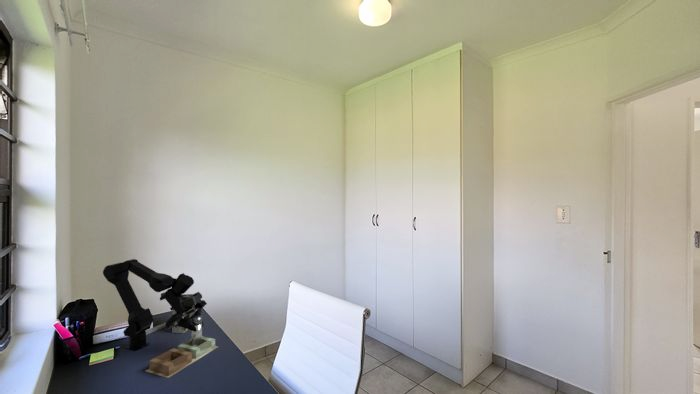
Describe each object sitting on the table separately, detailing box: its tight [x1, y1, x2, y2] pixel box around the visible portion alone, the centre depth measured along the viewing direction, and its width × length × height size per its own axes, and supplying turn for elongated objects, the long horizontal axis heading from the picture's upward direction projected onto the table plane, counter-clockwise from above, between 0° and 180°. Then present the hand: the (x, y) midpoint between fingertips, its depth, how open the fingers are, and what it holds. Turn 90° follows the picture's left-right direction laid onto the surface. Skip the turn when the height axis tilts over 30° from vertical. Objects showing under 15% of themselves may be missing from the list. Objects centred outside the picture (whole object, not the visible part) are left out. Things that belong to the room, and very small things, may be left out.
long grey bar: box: [145, 321, 167, 336], centre depth 153 cm, size 25×6×2 cm, turn 153°
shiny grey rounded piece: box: [190, 314, 203, 345], centre depth 126 cm, size 4×4×11 cm
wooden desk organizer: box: [145, 335, 219, 379], centre depth 121 cm, size 12×24×4 cm, turn 160°
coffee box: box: [171, 293, 194, 334], centre depth 149 cm, size 9×6×16 cm
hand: (199, 328), depth 126 cm, fingers closed on shiny grey rounded piece, 4 cm apart
